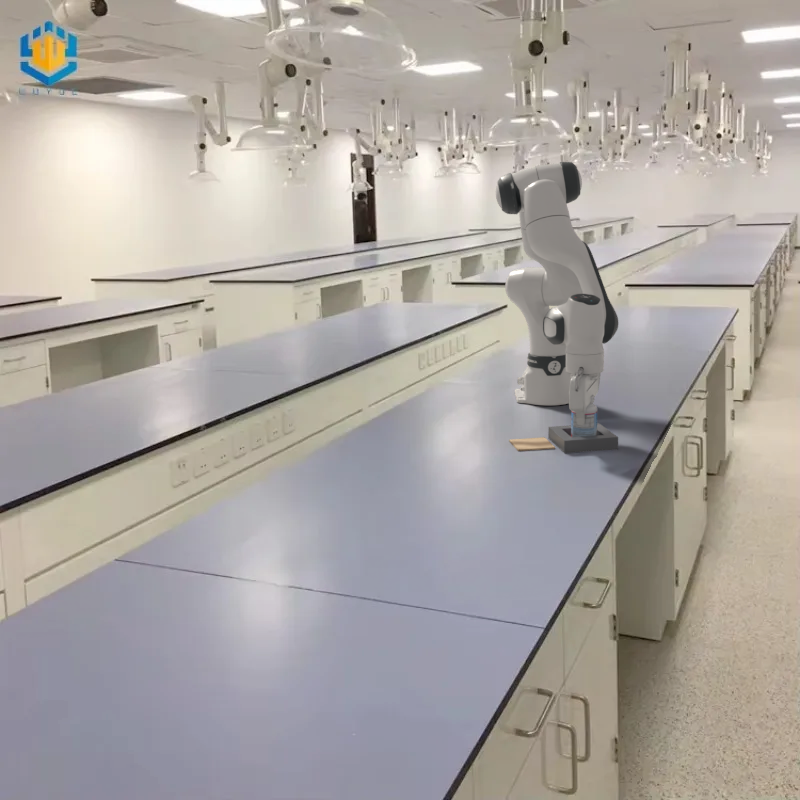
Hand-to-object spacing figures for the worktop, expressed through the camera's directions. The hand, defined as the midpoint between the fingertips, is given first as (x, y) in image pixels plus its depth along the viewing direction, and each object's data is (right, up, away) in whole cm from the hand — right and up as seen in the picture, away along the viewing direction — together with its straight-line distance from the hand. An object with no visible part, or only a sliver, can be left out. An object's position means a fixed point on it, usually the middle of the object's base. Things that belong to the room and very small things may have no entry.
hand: (583, 420), depth 206 cm
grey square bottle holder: (0, -6, +2) cm, 6 cm away
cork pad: (-12, -6, +3) cm, 14 cm away
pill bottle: (0, -5, +1) cm, 5 cm away
